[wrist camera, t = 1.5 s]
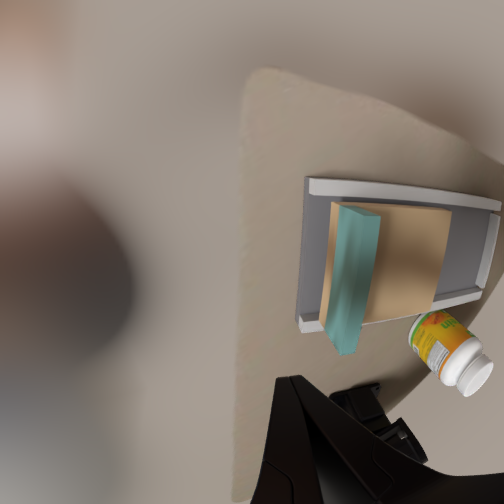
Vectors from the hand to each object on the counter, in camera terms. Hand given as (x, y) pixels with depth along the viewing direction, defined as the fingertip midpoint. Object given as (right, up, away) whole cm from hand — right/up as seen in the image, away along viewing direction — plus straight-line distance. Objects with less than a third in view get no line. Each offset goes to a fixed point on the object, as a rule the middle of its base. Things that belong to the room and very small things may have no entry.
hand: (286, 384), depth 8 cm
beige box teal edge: (+9, +4, +11) cm, 15 cm away
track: (+13, +4, +13) cm, 19 cm away
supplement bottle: (+18, -4, +17) cm, 25 cm away
